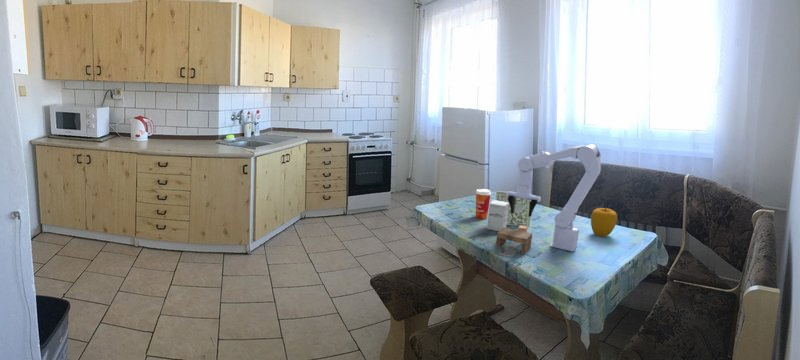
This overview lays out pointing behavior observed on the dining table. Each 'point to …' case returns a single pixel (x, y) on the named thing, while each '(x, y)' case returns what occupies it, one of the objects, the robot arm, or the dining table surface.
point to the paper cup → (482, 203)
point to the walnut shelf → (514, 238)
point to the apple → (603, 221)
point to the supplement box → (497, 215)
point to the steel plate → (507, 253)
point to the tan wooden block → (515, 245)
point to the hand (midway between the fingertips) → (521, 214)
